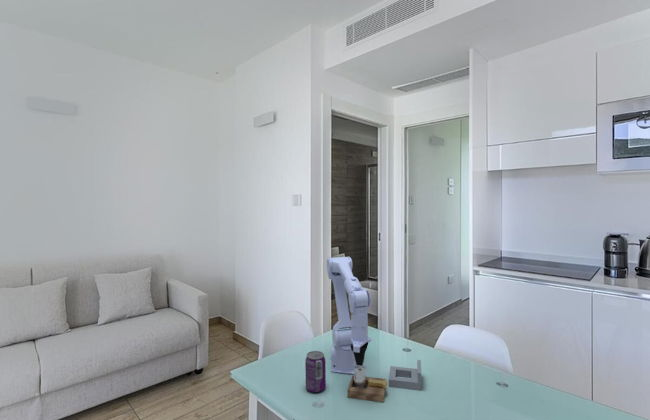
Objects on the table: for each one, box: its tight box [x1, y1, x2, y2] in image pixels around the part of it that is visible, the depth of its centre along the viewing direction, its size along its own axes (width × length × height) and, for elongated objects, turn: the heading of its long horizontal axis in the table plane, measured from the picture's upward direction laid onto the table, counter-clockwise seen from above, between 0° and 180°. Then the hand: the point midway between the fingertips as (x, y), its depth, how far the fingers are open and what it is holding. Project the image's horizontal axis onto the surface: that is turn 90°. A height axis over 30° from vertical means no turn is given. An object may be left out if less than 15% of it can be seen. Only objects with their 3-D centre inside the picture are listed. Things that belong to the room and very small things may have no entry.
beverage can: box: [304, 350, 327, 393], centre depth 117 cm, size 7×7×12 cm
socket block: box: [347, 374, 387, 403], centre depth 115 cm, size 12×10×2 cm
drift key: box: [368, 379, 388, 389], centre depth 114 cm, size 6×3×1 cm, turn 76°
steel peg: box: [353, 365, 367, 389], centre depth 115 cm, size 4×4×8 cm
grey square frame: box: [388, 359, 423, 391], centre depth 121 cm, size 11×10×6 cm
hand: (359, 364), depth 115 cm, fingers closed
